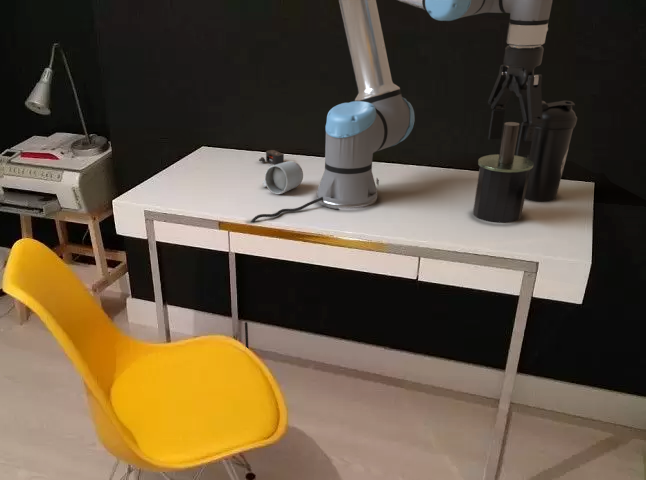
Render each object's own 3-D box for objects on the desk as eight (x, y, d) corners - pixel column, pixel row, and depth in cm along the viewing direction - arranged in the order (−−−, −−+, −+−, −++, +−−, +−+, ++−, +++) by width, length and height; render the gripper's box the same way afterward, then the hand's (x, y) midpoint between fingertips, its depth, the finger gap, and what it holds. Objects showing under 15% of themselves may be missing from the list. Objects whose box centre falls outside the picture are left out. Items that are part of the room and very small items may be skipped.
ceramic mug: (305, 188, 188) (305, 160, 184) (287, 196, 183) (286, 168, 179) (273, 182, 194) (273, 154, 191) (255, 190, 189) (254, 162, 185)
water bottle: (563, 203, 170) (585, 107, 159) (519, 202, 172) (537, 106, 161) (555, 189, 179) (574, 97, 167) (513, 188, 181) (529, 97, 169)
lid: (491, 176, 153) (498, 132, 149) (468, 161, 164) (474, 119, 159) (542, 172, 154) (551, 128, 149) (517, 157, 165) (524, 115, 160)
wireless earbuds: (271, 159, 212) (271, 149, 211) (284, 165, 207) (284, 154, 205) (258, 162, 211) (258, 151, 209) (271, 168, 205) (271, 157, 203)
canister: (484, 226, 160) (493, 173, 154) (465, 210, 169) (472, 159, 163) (528, 223, 161) (539, 169, 155) (507, 207, 170) (516, 156, 164)
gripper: (574, 53, 136) (552, 161, 146) (513, 36, 157) (498, 131, 168) (537, 56, 135) (518, 163, 146) (481, 38, 156) (468, 133, 167)
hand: (507, 146), depth 157 cm, fingers open, 13 cm apart
